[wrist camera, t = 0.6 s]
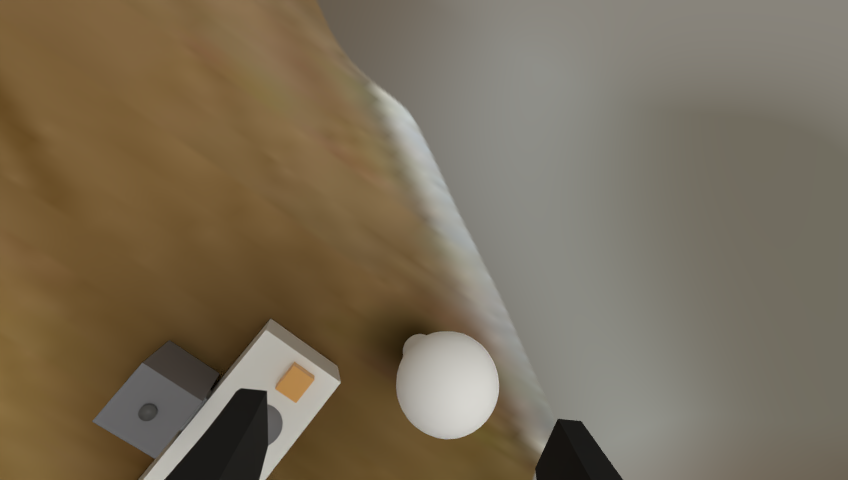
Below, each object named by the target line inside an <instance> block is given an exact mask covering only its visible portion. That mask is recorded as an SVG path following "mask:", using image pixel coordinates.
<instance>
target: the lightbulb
mask: <svg viewBox="0 0 848 480" xmlns="http://www.w3.org/2000/svg"><path fill="white" fill-rule="evenodd" d="M396 391H397V398H398V401H399V404H400V406H401V409H402V411H403V412H404V414H405V415H406V417H407V419H408V420H409V421H410V422H411V423H412V424H413V425H414V426H415V427H416V428H418V429H419V430H421V431H422V432H424V433H425V434H428V435H431V436H433V437H436V438H442V439H456V438H460V437H464V436H466V435H468V434H470V433H473V432H474V431H475V430H477V429H478V428H480V427H481V426H482V425H483V424H484V423H485V422H486V421H487V419H488V418H489V416H490V415H491V413H492V412H493V410H494V407H495V405H496V402H497V398H498V394H499V380H498V373H497V370H496V367H495V364H494V362H493V360H492V358H491V357H490V355H489V353H488V352H487V350H486V349H485V348H484V347H483V346H482V345H481V344H480V343H478V342H477V341H476V340H474V339H473V338H471V337H469V336H467V335H465V334H463V333H458V332H452V331H440V332H435V333H431V334H429V335H424V334H415V335H413V336H411V337H410V338H409V339H407V341H406V342H405V344H404V347H403V358H402V360H401V362H400V365H399V368H398V372H397V381H396Z"/></svg>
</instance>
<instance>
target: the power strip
mask: <svg viewBox="0 0 848 480" xmlns="http://www.w3.org/2000/svg"><path fill="white" fill-rule="evenodd" d="M340 383H341V381H340V376H339V371H338V366H337V365H335V364H334V363H332V362H331V361H330V360H328V359H327V358H325V357H324V356H323V355H321V354H320V353H318V352H317V351H316V350H314V349H313V348H311V347H310V346H309V345H307V344H306V343H304V342H303V341H302V340H300V339H299V338H297V337H296V336H295V335H293V334H292V333H290V332H289V331H288V330H286V329H285V328H283V327H282V326H281V325H279V324H278V323H276V322H275V321H274V320H272V319H270V320H269V321H268V322H267V323H266V325H265V326H264V327H263V328H262V330H261V331H260V332H259V333H258V334H257V336H256V337H255V338H254V339H253V341H252V342H251V343H250V344H249V345H248V347H247V348H246V349H245V350H244V351H243V353H242V354H241V355H240V356H239V358H238V359H237V360H236V361H235V362H234V364H233V365H232V366H231V367H230V369H229V370H228V371H227V372H226V373H225V375H224V376H223V377H222V378H221V379H220V381H219V382H218V383H217V384H216V386H215V387H214V388H213V389H212V390H211V391H212V394H211V396H210V397H209V399H208V400H207V401H206V402H205V403H204V405H203V406H202V407H201V408H200V410H199V411H198V412H197V413H196V414H195V416H194V417H193V418H192V419H191V421H190V422H189V423H188V424H187V425H186V427H185V428H184V429H183V430H179V431H178V432H177V434H176V435H175V436H174V437H173V439H172V440H171V441H170V442H169V443H168V445H167V446H166V447H165V448H164V449H163V451H162V452H161V453H160V454H159V456H158V457H157V458H156V459H155V460H154V461H153V462H152V463H151V465H150V466H149V467H148V468H147V470H146V471H145V472H144V473H143V474H142V476H141V477H140V478H139V479H138V480H164V479H165V478H166V477H167V476H168V475H169V474H170V473H171V471H172V470H173V469H174V468H175V467H176V466H177V464H178V463H179V462H180V461H181V460H182V459H183V457H184V456H185V455H186V454H187V453H188V452H189V451H190V449H191V448H192V447H193V446H194V445H195V444H196V442H197V441H198V440H199V439H200V438H201V436H202V435H203V434H204V433H205V431H206V430H207V429H208V428H209V426H210V425H211V424H212V423H213V421H214V420H215V419H216V418H217V416H218V415H219V414H220V412H221V411H222V410H223V409H224V407H225V406H226V405H227V403H228V402H229V401H230V399H231V398H232V396H233V395H234V394H235V392H236V391H237V390H239V389H240V388H245V389H255V390H265V391H267V409H268V449H267V452H266V456H265V460H264V464H263V468H262V472H261V475H260V479H259V480H265V479H266V478H267V477H268V476H269V474H270V473H271V472H272V470H273V469H274V468H275V467H276V465H277V464H278V463H279V461H280V460H281V459H282V458H283V456H284V455H285V454H286V452H287V451H288V450H289V449H290V447H291V446H292V445H293V443H294V442H295V441H296V440H297V438H298V437H299V436H300V434H301V433H302V432H303V431H304V429H305V428H306V427H307V425H308V424H309V423H310V422H311V420H312V419H313V418H314V416H315V415H316V414H317V413H318V411H319V410H320V409H321V407H322V406H323V405H324V404H325V402H326V401H327V400H328V398H329V397H330V396H331V395H332V393H333V392H334V391H335V389H336V388H337V387H338V386H339V384H340Z"/></svg>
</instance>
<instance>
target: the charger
mask: <svg viewBox="0 0 848 480" xmlns="http://www.w3.org/2000/svg"><path fill="white" fill-rule="evenodd" d="M218 376H219V373H218V372H216V371H215V370H213V369H212V368H210V367H209V366H207V365H206V364H204V363H203V362H201V361H200V360H198V359H197V358H195V357H194V356H192V355H191V354H189V353H188V352H186V351H185V350H183V349H182V348H180V347H179V346H177V345H176V344H174V343H173V342H171V341H170V340H169V341H168V342H167V343H165V344H164V345H163V346H162V347H161V348H159V349H158V350H157V351H156V352H155V353H153V354H152V355H151V356H150V357H149V358H147V359H146V360H145V361H144V362H143V363H142V364H141V365H140V366H139V367H138V368H137V370H136V371H135V372H134V373H133V374H132V375H131V377H130V378H129V379H128V380H127V381H126V382H125V384H124V385H123V386H122V387H121V388H120V389H119V391H118V392H117V393H116V394H115V395H114V396H113V398H112V399H111V400H110V401H109V402H108V403H107V405H106V406H105V407H104V408H103V409H102V411H101V412H100V413H99V414H98V415H97V416H96V418H95V419H94V420H93V421H92V422H94V423H96V424H97V425H99V426H101V427H102V428H104V429H106V430H107V431H109V432H111V433H112V434H114V435H116V436H117V437H119V438H121V439H123V440H124V441H126V442H128V443H129V444H131V445H133V446H134V447H136V448H138V449H139V450H141V451H143V452H144V453H146V454H148V455H150V456H151V457H153V458H155V459H156V458H157V457H158V456H159V454H160V453H161V452H162V451H163V449H164V448H165V447H166V446H167V445H168V443H169V442H170V441H171V440H172V439H173V437H174V436H175V435H176V434H177V432H178V431H179V430H183V429H184V428H185V427H186V425H187V424H188V423H189V422H190V421H191V419H192V418H193V417H194V416H195V414H196V413H197V412H198V411H199V410H200V408H201V407H202V406H203V405H204V403H205V402H206V401H207V400H208V399H209V397H210V396H211V394H212V391H211V390H210V389H211V387H212V386H213V384H214V382H215V381H216V379H217V377H218Z"/></svg>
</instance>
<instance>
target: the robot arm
mask: <svg viewBox="0 0 848 480" xmlns="http://www.w3.org/2000/svg"><path fill="white" fill-rule="evenodd" d="M267 449H268V409H267V391H265V390H255V389H245V388H240V389H239V390H237V391H236V392H235V394H234V395H233V396H232V398H231V399H230V401H229V402H228V403H227V405H226V406H225V407H224V409H223V410H222V411H221V412H220V414H219V415H218V416H217V418H216V419H215V420H214V421H213V423H212V424H211V425H210V426H209V428H208V429H207V430H206V431H205V433H204V434H203V435H202V436H201V438H200V439H199V440H198V441H197V442H196V444H195V445H194V446H193V447H192V448H191V449H190V451H189V452H188V453H187V454H186V455H185V456H184V457H183V459H182V460H181V461H180V462H179V463H178V464H177V466H176V467H175V468H174V469H173V470H172V471H171V473H170V474H169V475H168V476H167V477H166V478H165V479H164V480H259V479H260V475H261V472H262V468H263V464H264V460H265V456H266V452H267ZM535 470H536V478H537V480H623V479H622V478H621V476H620V475H619V474H618V472H617V471H616V470H615V468H614V467H613V465H612V464H611V462H610V461H609V460H608V458H607V457H606V455H605V454H604V453H603V452H602V450H601V448H600V447H599V446H598V444H597V443H596V441H595V440H594V439H593V437H592V436H591V435H590V433H589V431H588V430H587V429H586V427H585V426H584V425H583V423H582V422H581V421H574V420H563V419H558V420H557V422H556V424H555V426H554V429H553V431H552V433H551V435H550V437H549V440H548V442H547V444H546V446H545V448H544V450H543V453H542V455H541V457H540V459H539V461H538V464H537V466H536V468H535Z"/></svg>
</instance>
